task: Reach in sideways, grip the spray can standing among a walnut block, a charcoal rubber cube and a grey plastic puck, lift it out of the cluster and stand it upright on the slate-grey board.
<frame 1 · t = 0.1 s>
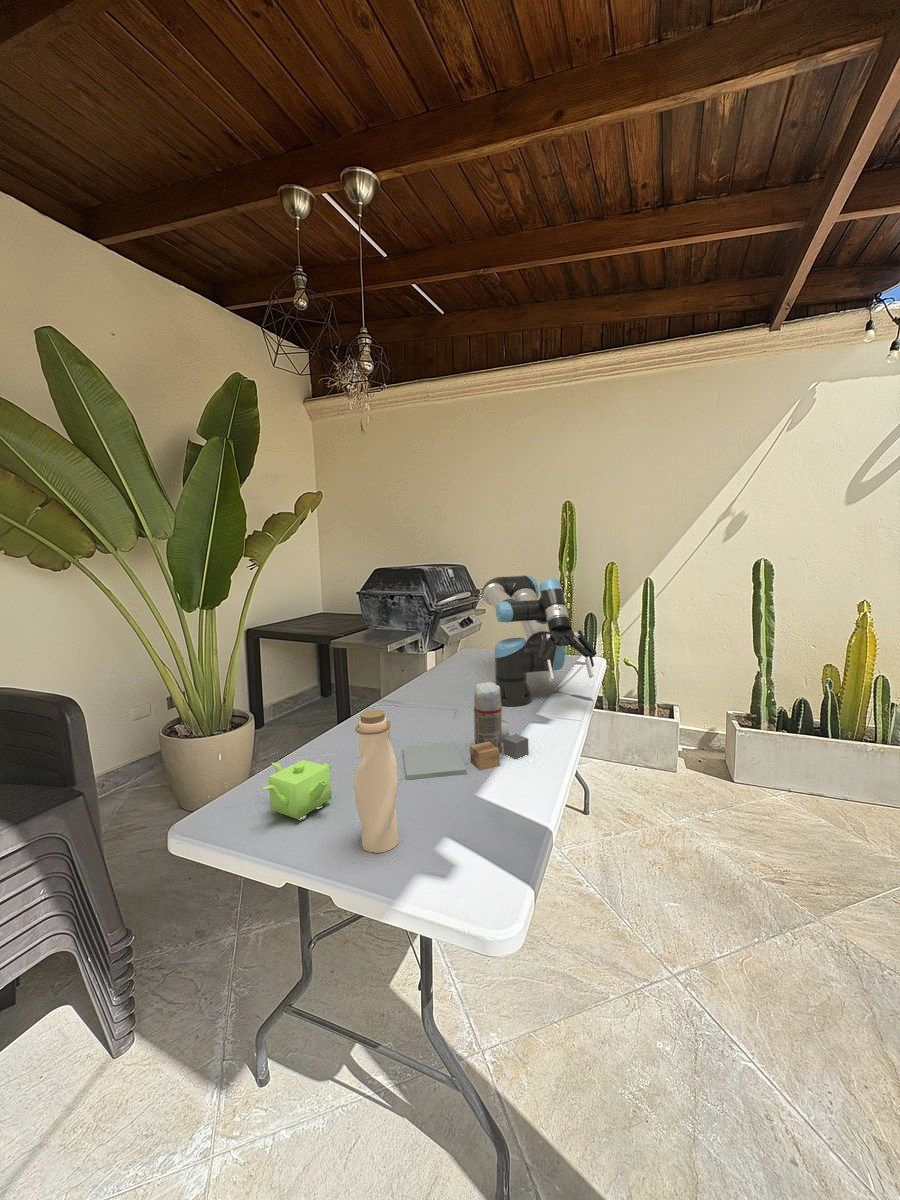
hand: (571, 678, 174), 15 cm above the table, tool tilted 35°, fingers open, 13 cm apart
walnut block: (485, 764, 148), on the table
grey plastic puck: (499, 738, 166), on the table
water bottle: (380, 841, 113), on the table
charcoal rubber cube: (516, 755, 153), on the table
slate board: (432, 761, 151), on the table
spray can: (488, 750, 157), on the table
kettle: (299, 810, 127), on the table
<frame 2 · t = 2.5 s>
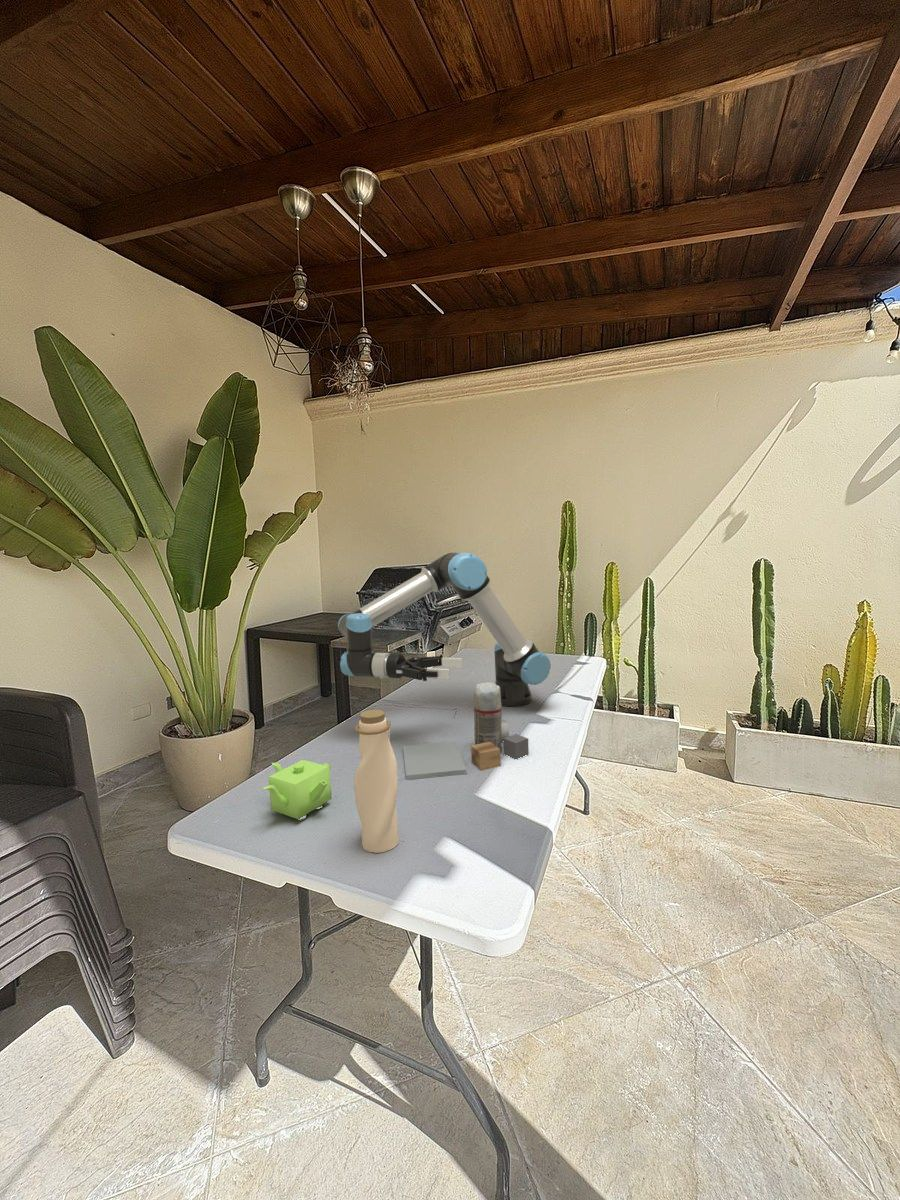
hand: (456, 668, 157), 24 cm above the table, tool horizontal, fingers open, 13 cm apart
nothing on the table moved.
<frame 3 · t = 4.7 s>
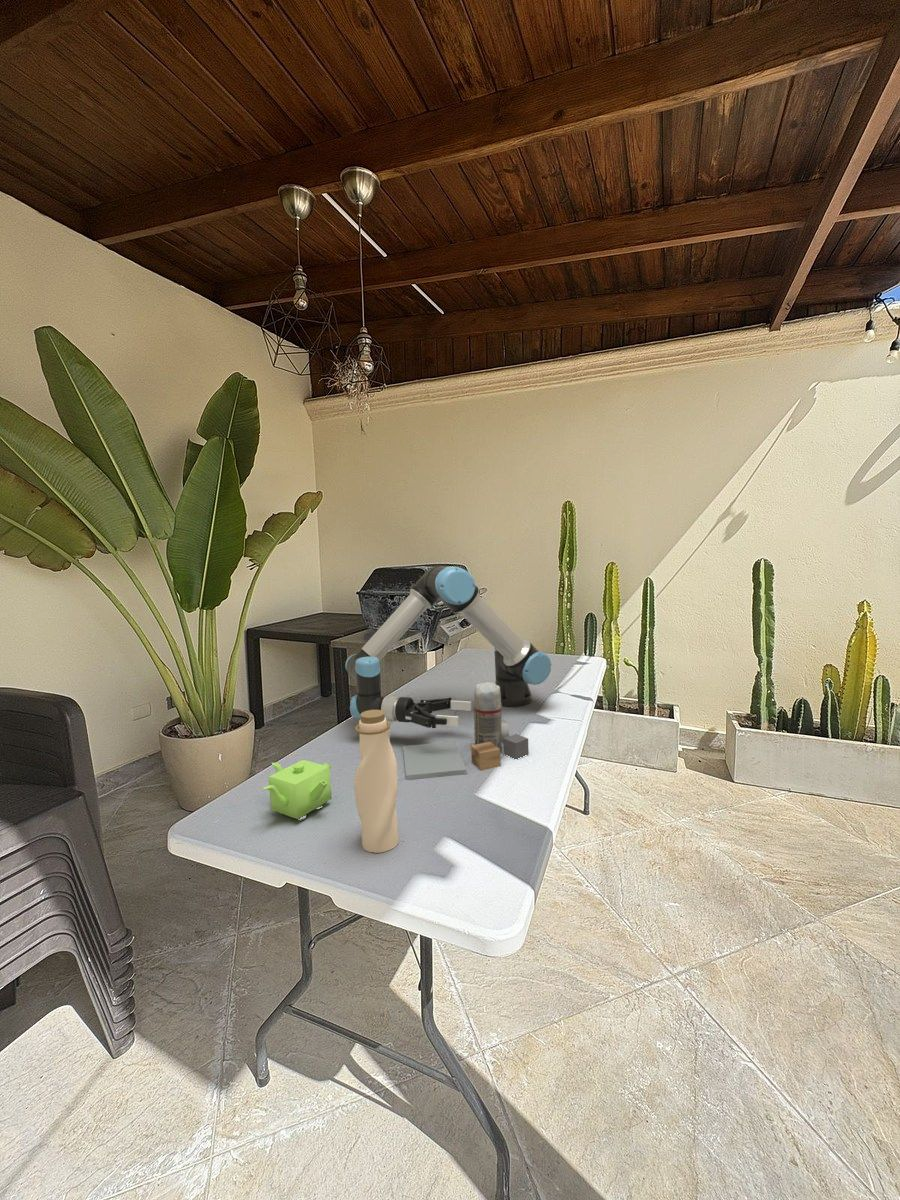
hand: (465, 713, 157), 11 cm above the table, tool horizontal, fingers open, 13 cm apart
nothing on the table moved.
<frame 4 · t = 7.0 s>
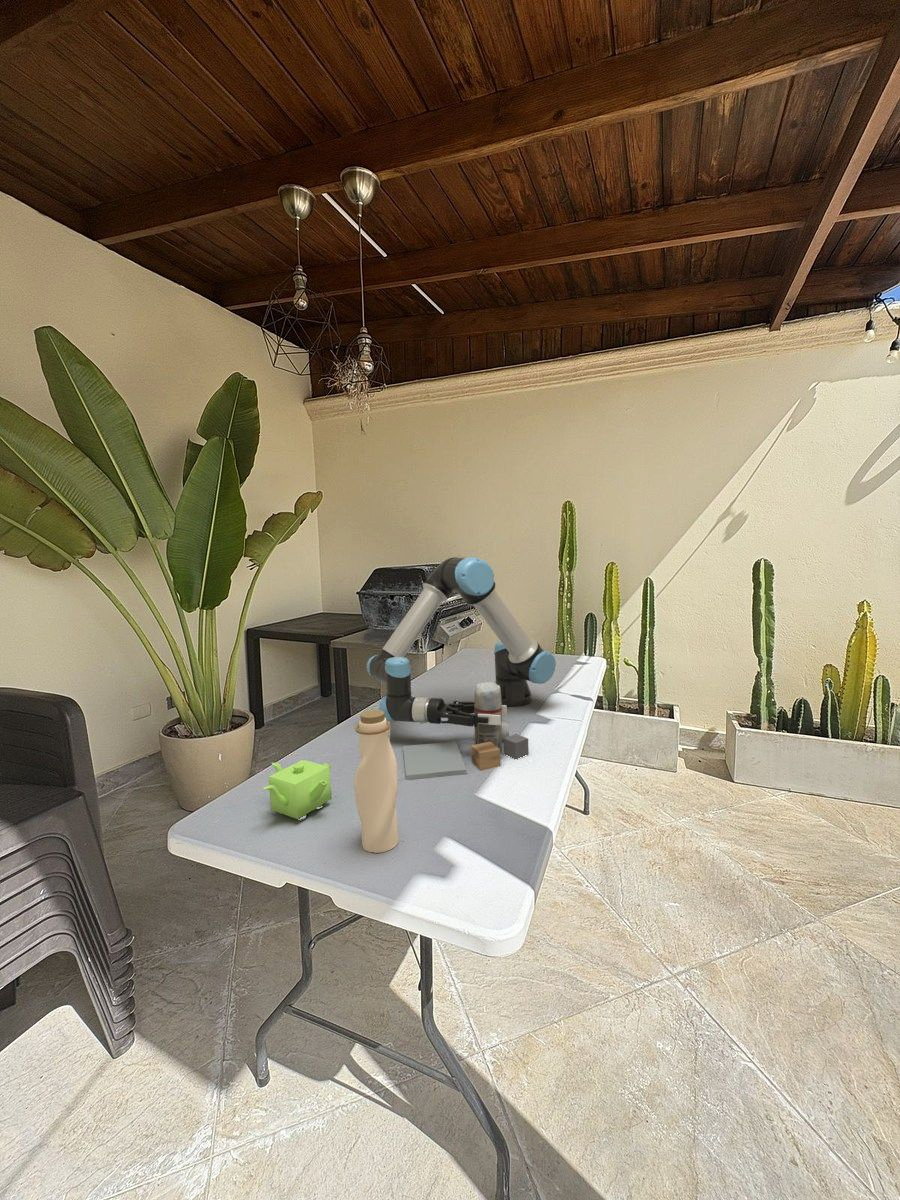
hand: (503, 715, 154), 11 cm above the table, tool horizontal, fingers closed on spray can, 8 cm apart
spray can: (488, 750, 157), on the table, touching gripper
everything else where it was.
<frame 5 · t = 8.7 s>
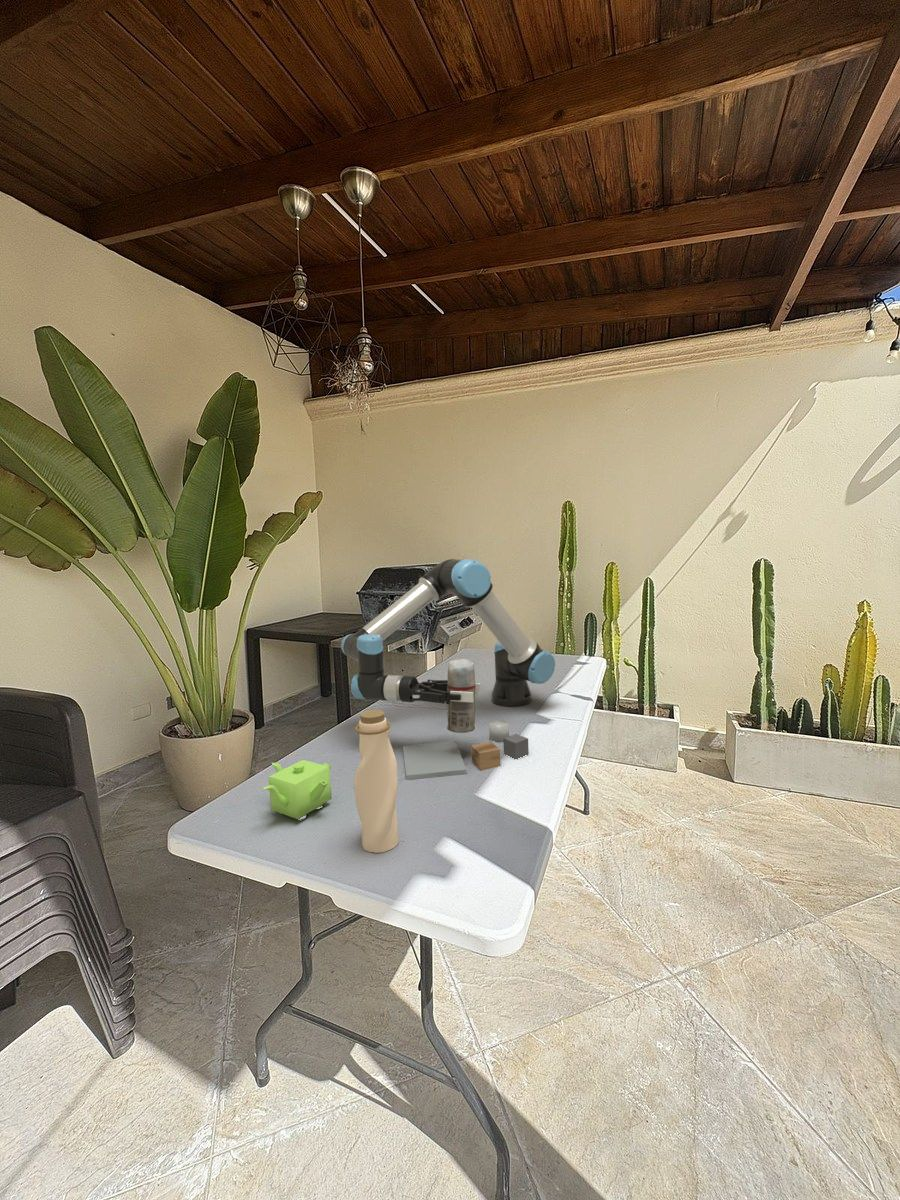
hand: (476, 692, 150), 19 cm above the table, tool horizontal, fingers closed on spray can, 8 cm apart
spray can: (462, 729, 153), point 8 cm above the table, touching gripper
everything else where it was.
when the fingers open (13 cm above the table, at t = 10.5 s): spray can drops 1 cm, resting on slate board.
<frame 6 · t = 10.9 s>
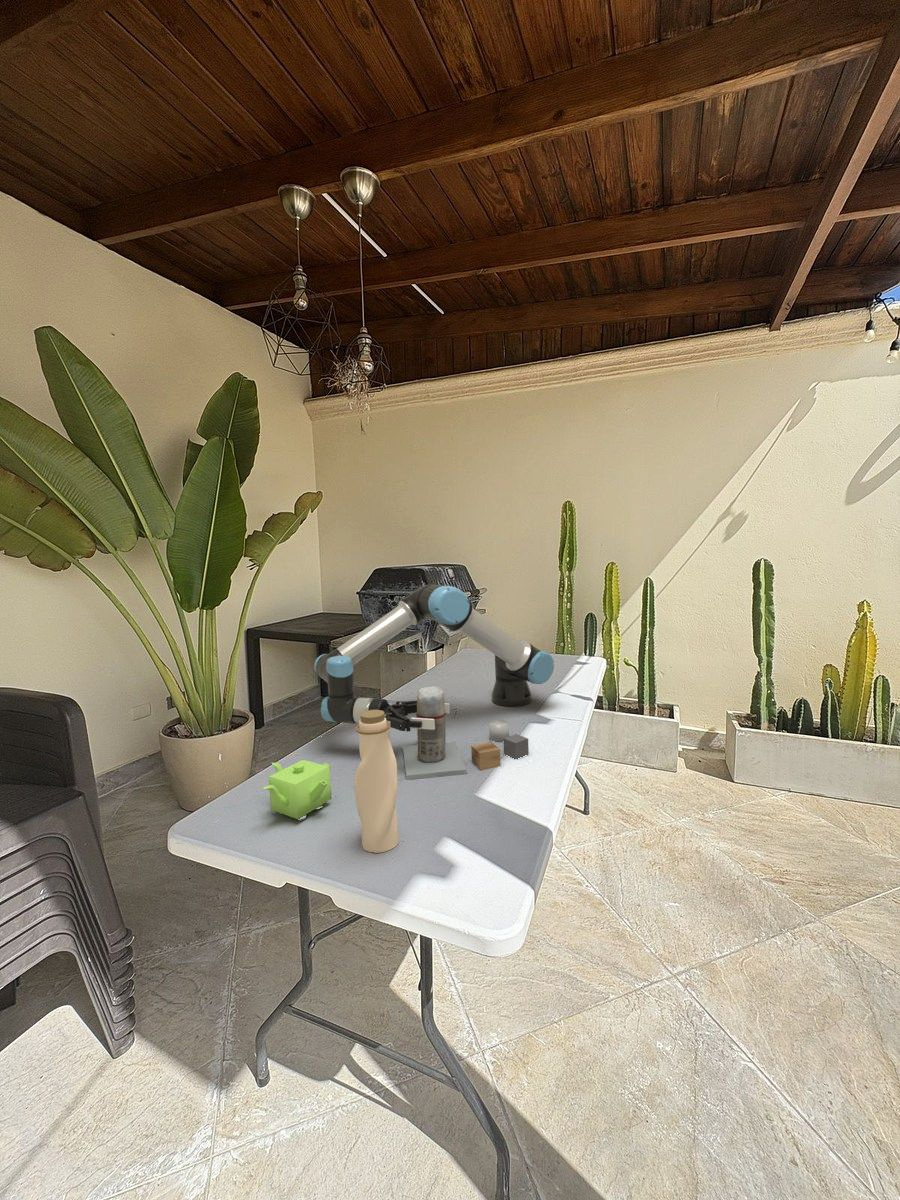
hand: (442, 716, 148), 13 cm above the table, tool horizontal, fingers open, 13 cm apart
spray can: (432, 757, 151), point 1 cm above the table, touching slate board
everything else where it was.
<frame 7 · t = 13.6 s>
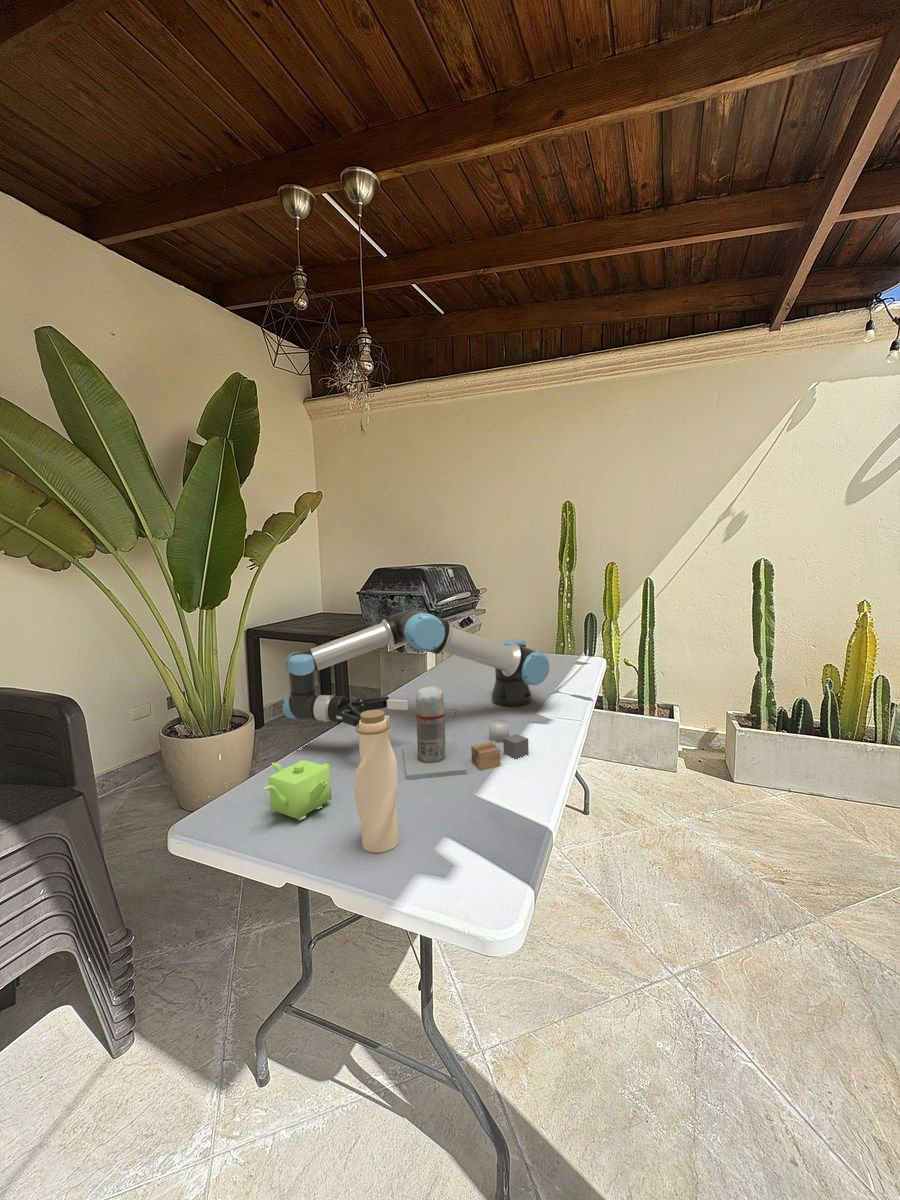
hand: (398, 712, 152), 14 cm above the table, tool horizontal, fingers open, 13 cm apart
nothing on the table moved.
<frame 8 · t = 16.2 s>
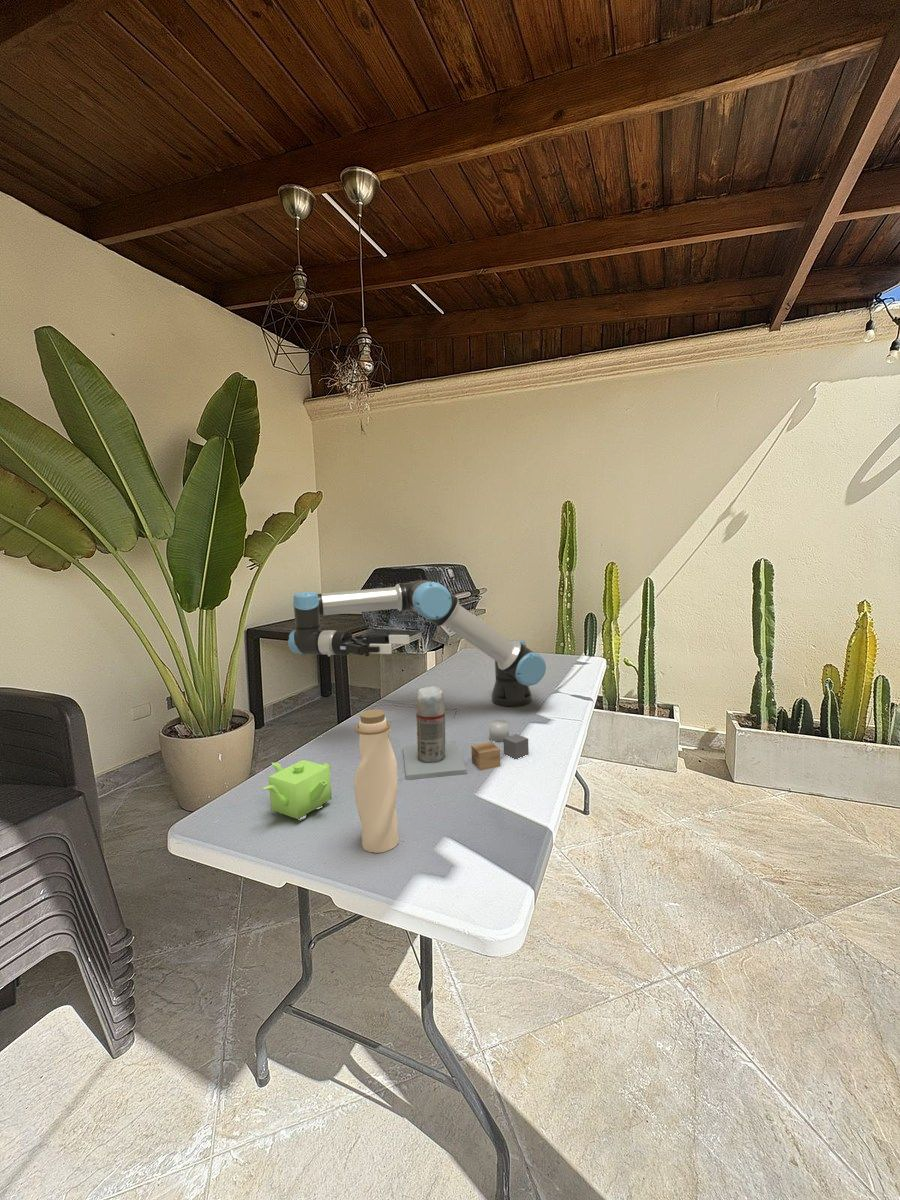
hand: (400, 644, 158), 32 cm above the table, tool horizontal, fingers open, 13 cm apart
nothing on the table moved.
at the end: spray can inside the target area on the slate board (0.1 cm from its centre), point 1.0 cm above the slate board's base; spray can tilted 0°; the gripper is holding nothing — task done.
